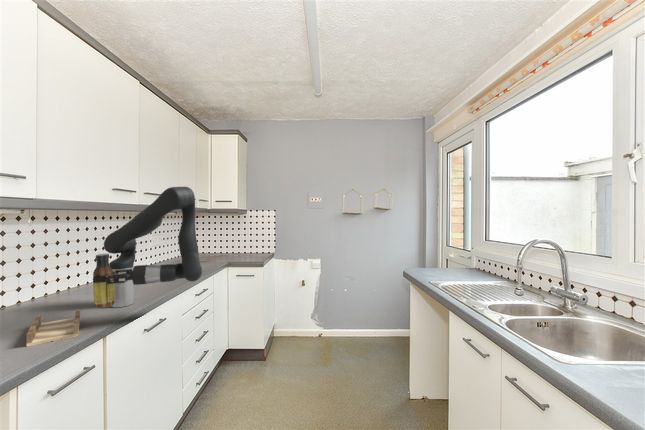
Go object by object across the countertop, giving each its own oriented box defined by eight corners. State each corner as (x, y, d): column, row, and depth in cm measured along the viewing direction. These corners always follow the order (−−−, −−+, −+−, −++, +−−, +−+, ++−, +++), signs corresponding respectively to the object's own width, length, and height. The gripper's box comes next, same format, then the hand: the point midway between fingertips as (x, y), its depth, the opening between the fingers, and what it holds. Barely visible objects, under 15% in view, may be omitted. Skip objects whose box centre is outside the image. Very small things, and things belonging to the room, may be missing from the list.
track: (36, 326, 106) (36, 316, 106) (80, 319, 114) (80, 309, 114) (26, 346, 90) (26, 334, 90) (78, 336, 98) (78, 324, 98)
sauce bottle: (111, 302, 113) (111, 252, 112) (116, 305, 109) (116, 254, 108) (91, 306, 108) (91, 254, 107) (95, 310, 104) (95, 256, 103)
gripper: (150, 261, 120) (101, 264, 113) (144, 268, 107) (89, 271, 100) (150, 279, 120) (101, 283, 114) (144, 288, 107) (89, 292, 100)
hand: (96, 277), depth 107 cm, fingers closed on sauce bottle, 6 cm apart
